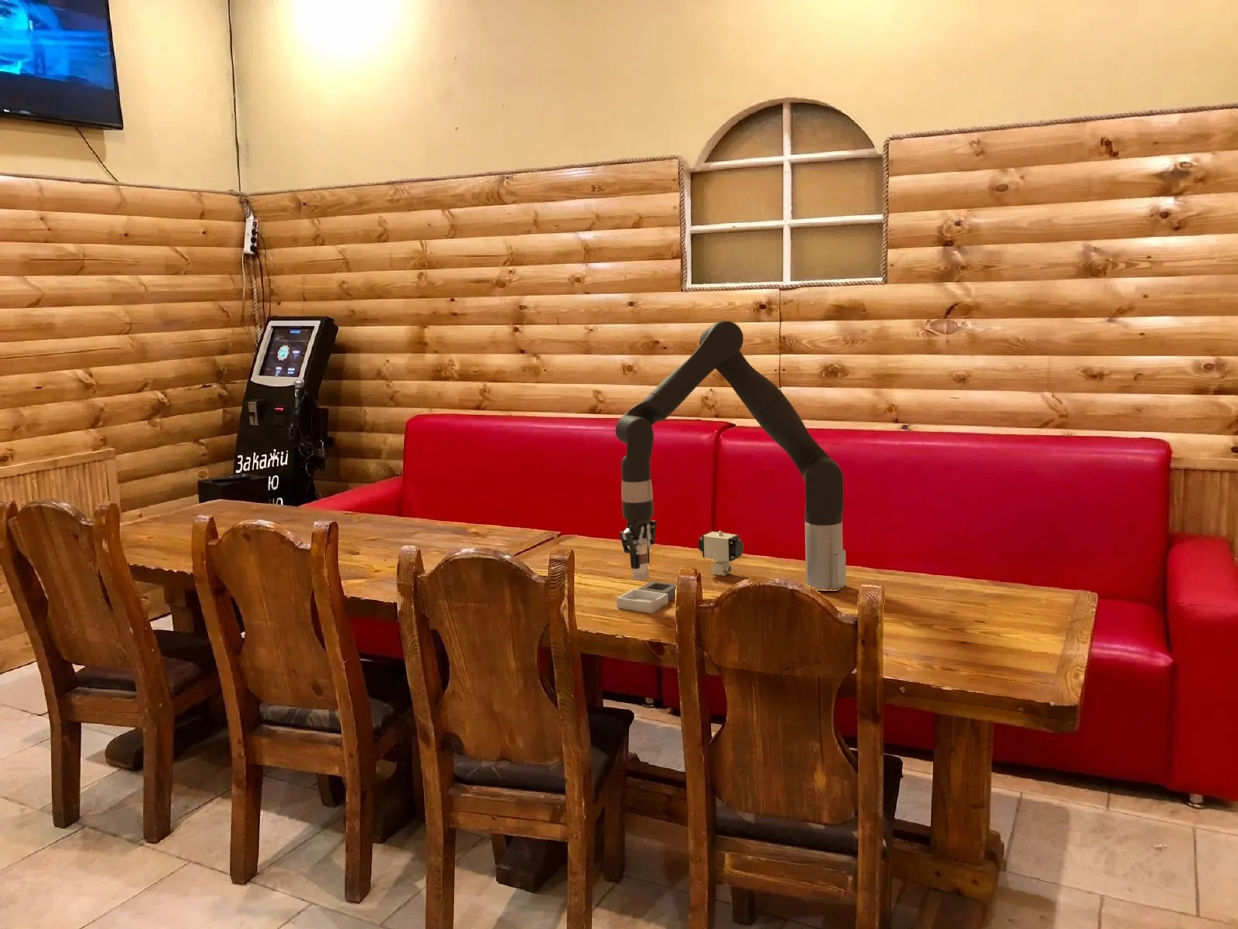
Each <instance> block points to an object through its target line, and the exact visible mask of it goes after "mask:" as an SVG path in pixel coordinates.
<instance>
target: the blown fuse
mask: <svg viewBox="0 0 1238 929" xmlns="http://www.w3.org/2000/svg"><path fill="white" fill-rule="evenodd" d="M632 540H633V541H637V540H634V539H632ZM635 547H636V545H635V544H634V548H635ZM639 555H640V568H639V569H632V572H631V573H632V579H633V580H634V581H635V580H636V581H644V580H648V579H649V578H650V572H649V564H648V552H647V537H645V538H642V544H641V545H640V549H639Z"/></svg>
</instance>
